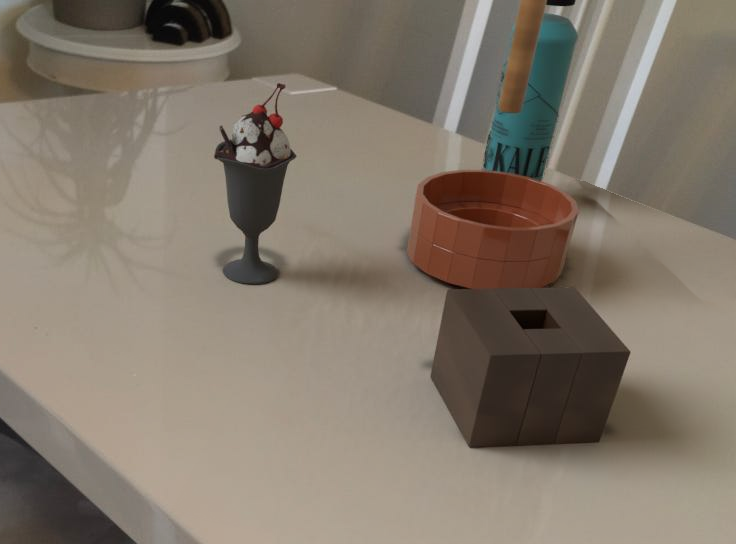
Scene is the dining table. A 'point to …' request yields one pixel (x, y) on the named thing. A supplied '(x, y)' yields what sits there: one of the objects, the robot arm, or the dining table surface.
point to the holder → (526, 366)
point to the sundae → (254, 185)
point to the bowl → (491, 229)
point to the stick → (521, 55)
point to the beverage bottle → (534, 103)
